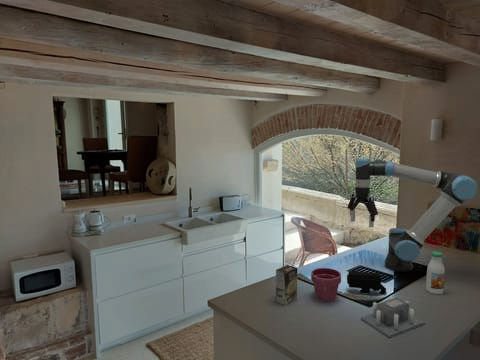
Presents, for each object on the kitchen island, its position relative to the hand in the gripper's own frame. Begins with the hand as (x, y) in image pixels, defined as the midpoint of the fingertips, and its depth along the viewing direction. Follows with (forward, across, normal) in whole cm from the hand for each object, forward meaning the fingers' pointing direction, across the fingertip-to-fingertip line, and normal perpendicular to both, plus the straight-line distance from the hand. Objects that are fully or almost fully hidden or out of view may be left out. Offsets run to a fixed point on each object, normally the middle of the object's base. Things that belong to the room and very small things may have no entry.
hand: (361, 224), depth 193 cm
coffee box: (+29, +6, -54) cm, 62 cm away
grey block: (+28, +43, -26) cm, 57 cm away
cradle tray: (+29, +43, -26) cm, 58 cm away
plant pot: (+29, +13, -36) cm, 48 cm away
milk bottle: (+29, +34, +16) cm, 47 cm away
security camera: (+29, +19, -15) cm, 38 cm away
